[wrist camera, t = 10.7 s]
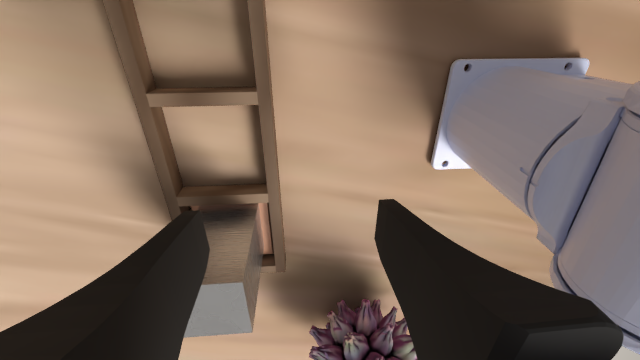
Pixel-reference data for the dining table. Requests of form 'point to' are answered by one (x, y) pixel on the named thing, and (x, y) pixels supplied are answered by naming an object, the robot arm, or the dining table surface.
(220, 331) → the square peg
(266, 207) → the rail
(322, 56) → the dining table surface
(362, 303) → the spiky ball
